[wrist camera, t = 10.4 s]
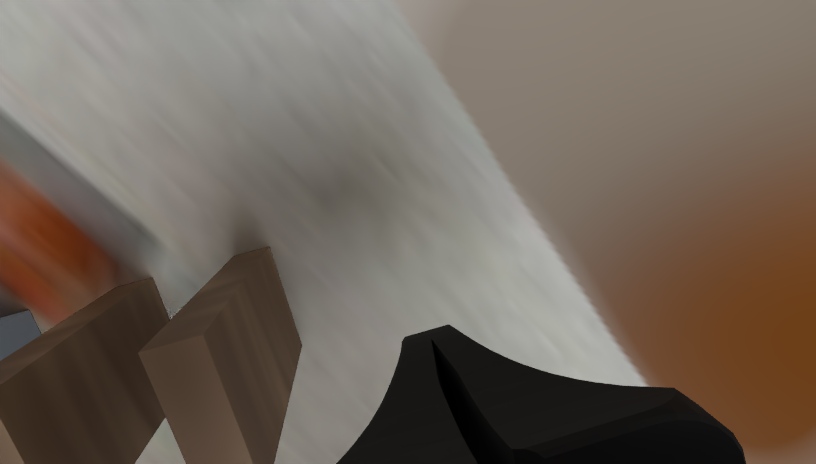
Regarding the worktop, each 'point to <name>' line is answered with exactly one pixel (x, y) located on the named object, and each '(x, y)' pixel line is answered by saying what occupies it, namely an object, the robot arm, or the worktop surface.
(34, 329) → the domino
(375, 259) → the worktop surface
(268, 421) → the domino
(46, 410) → the domino
